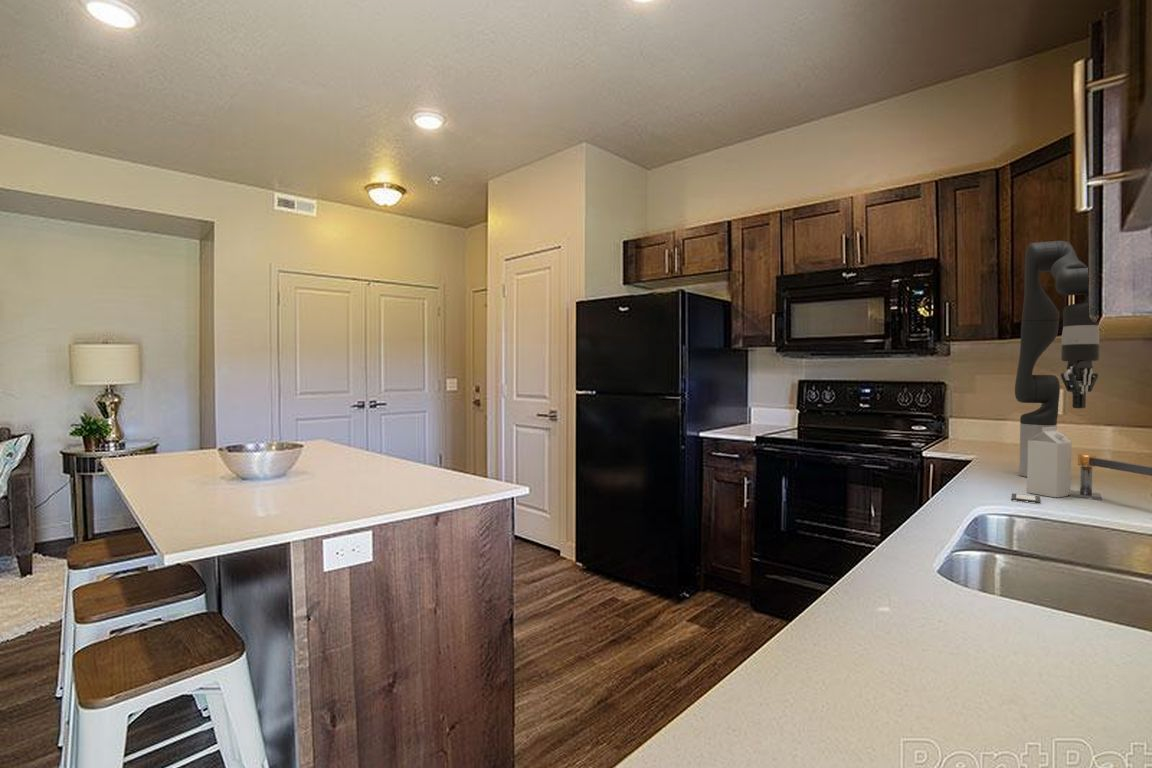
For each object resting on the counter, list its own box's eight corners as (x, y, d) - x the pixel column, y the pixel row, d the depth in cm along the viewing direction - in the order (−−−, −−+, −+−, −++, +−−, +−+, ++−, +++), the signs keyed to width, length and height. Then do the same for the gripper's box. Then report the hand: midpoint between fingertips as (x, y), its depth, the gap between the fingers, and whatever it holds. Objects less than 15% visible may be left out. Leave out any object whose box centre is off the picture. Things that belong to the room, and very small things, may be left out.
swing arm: (1074, 464, 157) (1074, 454, 157) (1086, 464, 157) (1086, 454, 157) (1181, 483, 131) (1181, 471, 131) (1195, 483, 131) (1195, 471, 131)
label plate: (1011, 495, 157) (1011, 492, 157) (1039, 498, 153) (1039, 495, 153) (1011, 500, 150) (1011, 498, 150) (1040, 504, 147) (1040, 501, 147)
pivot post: (1070, 493, 160) (1071, 464, 159) (1099, 496, 156) (1100, 466, 156) (1072, 496, 155) (1072, 467, 155) (1101, 499, 151) (1102, 469, 151)
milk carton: (1026, 493, 160) (1028, 426, 159) (1040, 490, 163) (1042, 425, 162) (1056, 498, 153) (1058, 428, 153) (1070, 495, 156) (1072, 427, 156)
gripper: (1083, 342, 144) (1081, 409, 144) (1111, 343, 149) (1110, 408, 149) (1048, 343, 151) (1047, 408, 151) (1077, 344, 156) (1076, 407, 156)
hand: (1078, 408), depth 150 cm, fingers closed
